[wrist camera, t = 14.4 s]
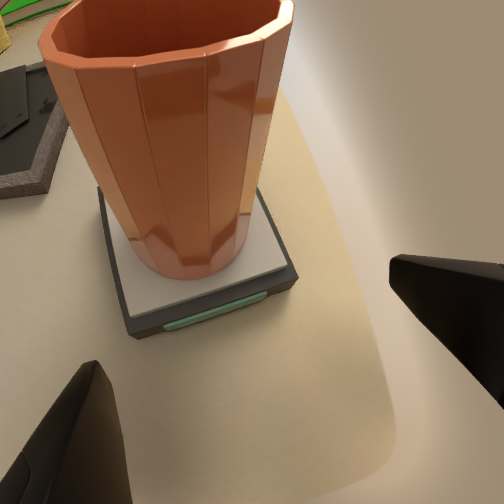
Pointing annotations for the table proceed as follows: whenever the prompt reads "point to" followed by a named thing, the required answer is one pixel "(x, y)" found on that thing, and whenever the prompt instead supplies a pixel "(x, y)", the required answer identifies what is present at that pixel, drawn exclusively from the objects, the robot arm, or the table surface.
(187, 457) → the table surface
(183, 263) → the cup
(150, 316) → the scale
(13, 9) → the book
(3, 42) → the candy box
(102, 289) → the table surface
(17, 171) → the picture frame
